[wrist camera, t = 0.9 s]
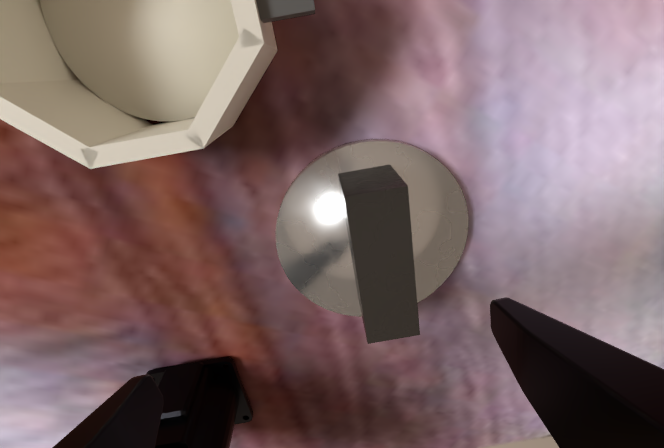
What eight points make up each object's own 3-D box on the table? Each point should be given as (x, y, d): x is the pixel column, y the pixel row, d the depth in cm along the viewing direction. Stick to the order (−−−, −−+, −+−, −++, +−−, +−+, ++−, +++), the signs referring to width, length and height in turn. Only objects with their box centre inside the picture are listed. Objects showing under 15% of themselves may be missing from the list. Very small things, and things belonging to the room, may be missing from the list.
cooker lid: (463, 291, 25) (497, 341, 21) (298, 320, 25) (295, 375, 21) (460, 120, 20) (505, 136, 16) (256, 157, 20) (240, 183, 16)
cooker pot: (326, 109, 19) (334, 125, 14) (59, 157, 19) (-39, 192, 14) (282, -163, 15) (266, -298, 9) (-65, -96, 15) (-281, -191, 9)
